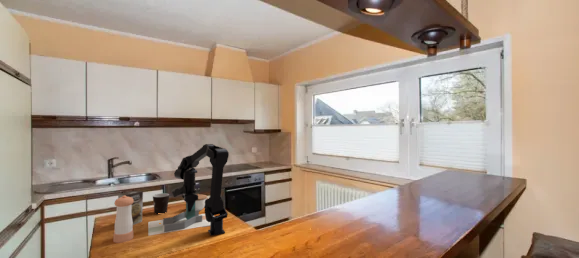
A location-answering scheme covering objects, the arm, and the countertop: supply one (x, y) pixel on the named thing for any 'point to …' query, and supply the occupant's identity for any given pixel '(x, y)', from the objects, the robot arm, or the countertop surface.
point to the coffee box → (135, 205)
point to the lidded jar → (200, 202)
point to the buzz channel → (177, 223)
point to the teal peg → (191, 213)
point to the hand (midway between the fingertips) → (188, 210)
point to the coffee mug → (160, 202)
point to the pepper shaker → (123, 220)
